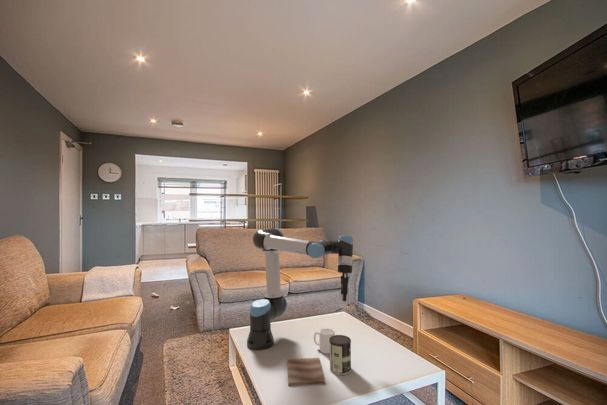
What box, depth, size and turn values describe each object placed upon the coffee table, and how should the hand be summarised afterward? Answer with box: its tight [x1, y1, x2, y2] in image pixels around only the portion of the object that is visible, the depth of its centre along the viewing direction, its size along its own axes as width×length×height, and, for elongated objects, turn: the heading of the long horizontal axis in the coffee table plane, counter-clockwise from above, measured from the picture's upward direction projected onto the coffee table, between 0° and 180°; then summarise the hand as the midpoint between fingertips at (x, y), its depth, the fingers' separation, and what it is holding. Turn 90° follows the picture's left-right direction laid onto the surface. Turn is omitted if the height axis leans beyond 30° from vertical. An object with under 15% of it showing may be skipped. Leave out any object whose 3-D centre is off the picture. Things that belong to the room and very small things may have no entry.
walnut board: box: [286, 357, 326, 386], centre depth 137 cm, size 20×16×1 cm
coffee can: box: [329, 334, 352, 376], centre depth 139 cm, size 10×10×14 cm
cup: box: [313, 327, 336, 355], centre depth 159 cm, size 8×12×10 cm
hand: (343, 308), depth 147 cm, fingers open, 13 cm apart
